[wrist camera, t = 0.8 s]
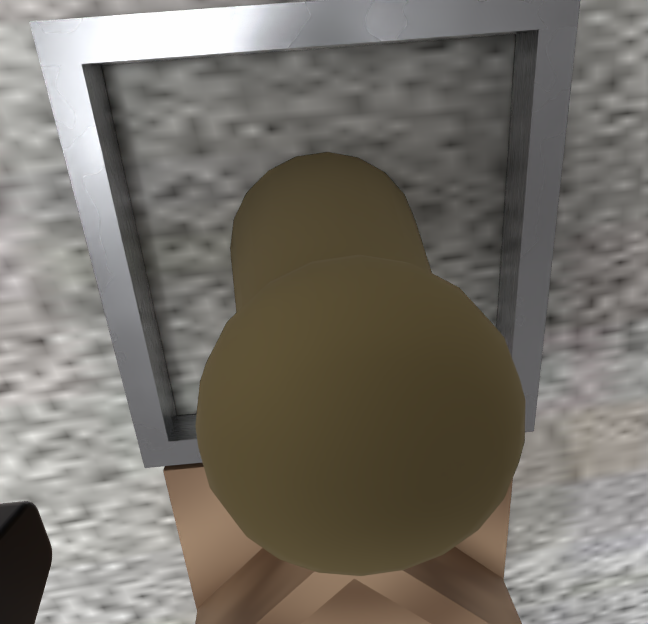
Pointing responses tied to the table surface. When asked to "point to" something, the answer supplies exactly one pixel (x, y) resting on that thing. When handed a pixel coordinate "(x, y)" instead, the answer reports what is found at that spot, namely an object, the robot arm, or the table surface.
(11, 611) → the robot arm
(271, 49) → the steel collar
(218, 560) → the dog kennel
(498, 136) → the table surface
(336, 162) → the cork
